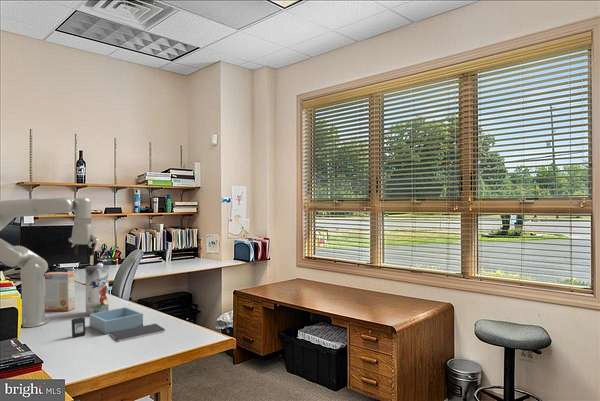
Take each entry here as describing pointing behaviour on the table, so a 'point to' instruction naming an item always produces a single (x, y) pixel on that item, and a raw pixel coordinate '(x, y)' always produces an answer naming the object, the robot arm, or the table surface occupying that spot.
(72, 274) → the cracker box
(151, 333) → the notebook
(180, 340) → the table surface
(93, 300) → the juice carton
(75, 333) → the ink cartridge
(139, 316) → the bin
